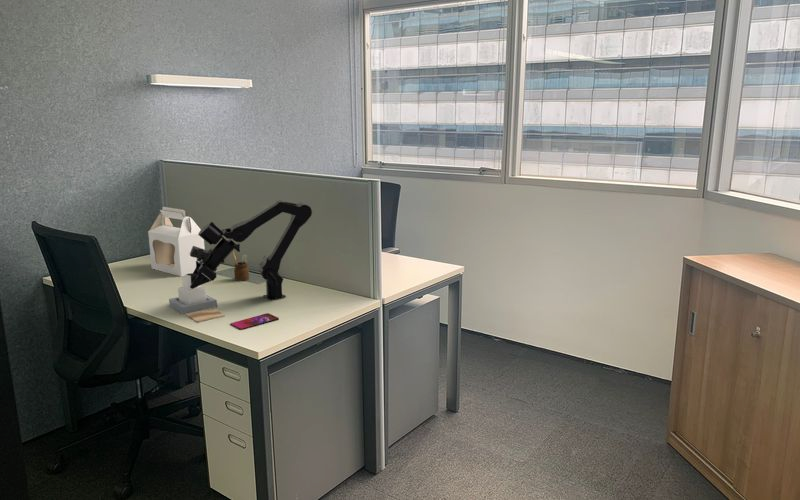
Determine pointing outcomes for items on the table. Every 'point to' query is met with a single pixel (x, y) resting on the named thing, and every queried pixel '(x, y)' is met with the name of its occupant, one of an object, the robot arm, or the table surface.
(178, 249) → the gable box
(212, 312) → the cork coaster
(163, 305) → the table surface
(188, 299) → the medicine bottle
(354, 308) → the table surface
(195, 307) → the parts tub
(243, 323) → the smartphone
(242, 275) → the utensil holder
